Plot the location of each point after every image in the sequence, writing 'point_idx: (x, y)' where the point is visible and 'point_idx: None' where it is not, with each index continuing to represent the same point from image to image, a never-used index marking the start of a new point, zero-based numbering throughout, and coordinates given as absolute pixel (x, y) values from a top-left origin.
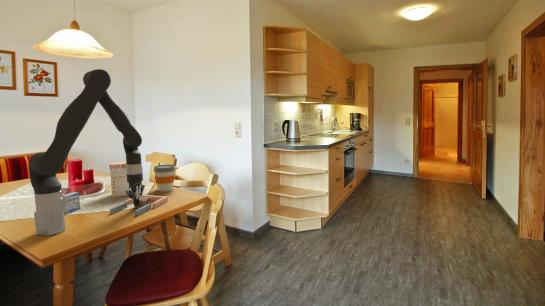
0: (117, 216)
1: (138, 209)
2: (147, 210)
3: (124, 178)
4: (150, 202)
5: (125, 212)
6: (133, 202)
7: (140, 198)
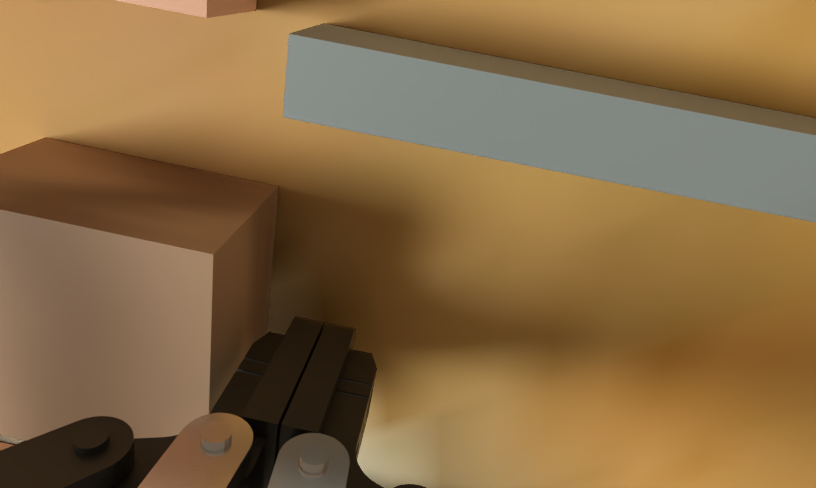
0: (764, 458)
1: (780, 178)
2: (463, 50)
3: None
4: (42, 159)
5: (558, 414)
6: (360, 441)
7: (75, 398)
